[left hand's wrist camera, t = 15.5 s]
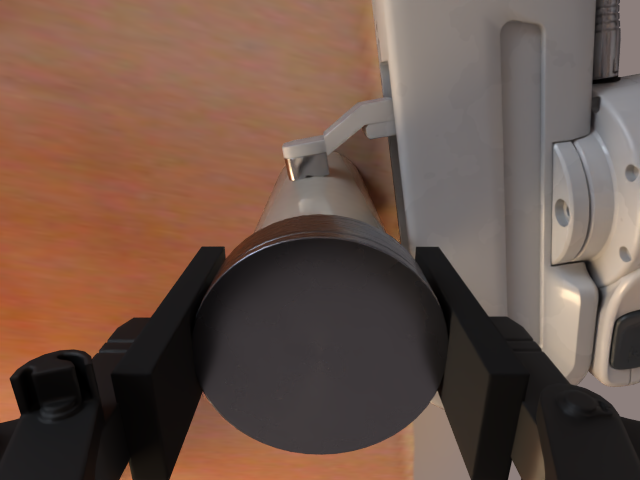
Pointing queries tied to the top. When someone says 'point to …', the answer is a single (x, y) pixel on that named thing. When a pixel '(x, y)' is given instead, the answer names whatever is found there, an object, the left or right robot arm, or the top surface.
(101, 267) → the top surface
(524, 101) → the right robot arm
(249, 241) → the lid
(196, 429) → the top surface
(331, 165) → the screw-top jar
